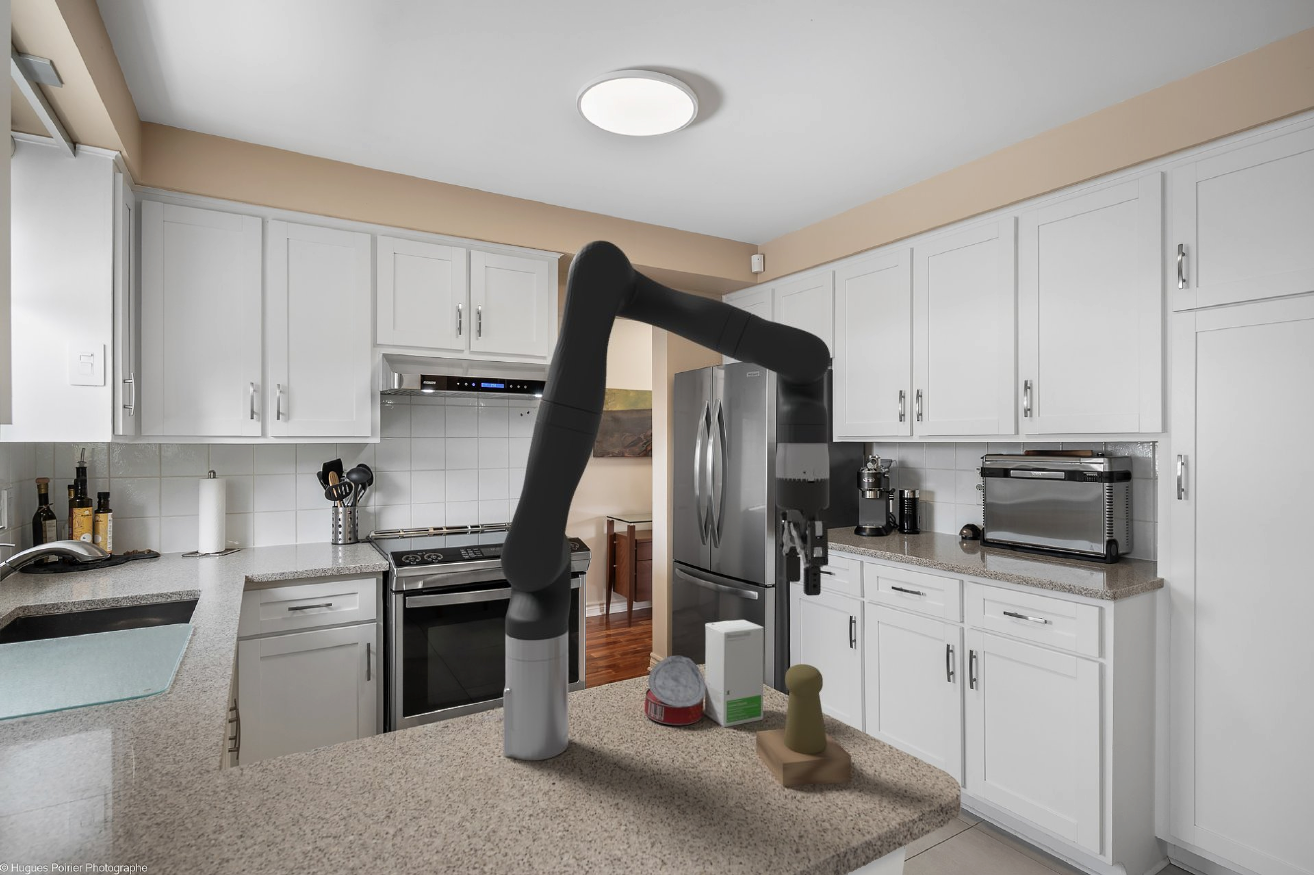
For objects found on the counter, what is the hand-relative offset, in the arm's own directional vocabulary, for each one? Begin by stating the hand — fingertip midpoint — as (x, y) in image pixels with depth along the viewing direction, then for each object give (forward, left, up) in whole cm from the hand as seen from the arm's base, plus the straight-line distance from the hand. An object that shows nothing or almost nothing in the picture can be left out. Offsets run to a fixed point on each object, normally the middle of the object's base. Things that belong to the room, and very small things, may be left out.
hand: (801, 587), depth 96 cm
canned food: (-18, +20, -26) cm, 38 cm away
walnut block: (0, 0, -26) cm, 26 cm away
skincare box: (-6, +18, -26) cm, 32 cm away
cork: (0, -1, -22) cm, 22 cm away
